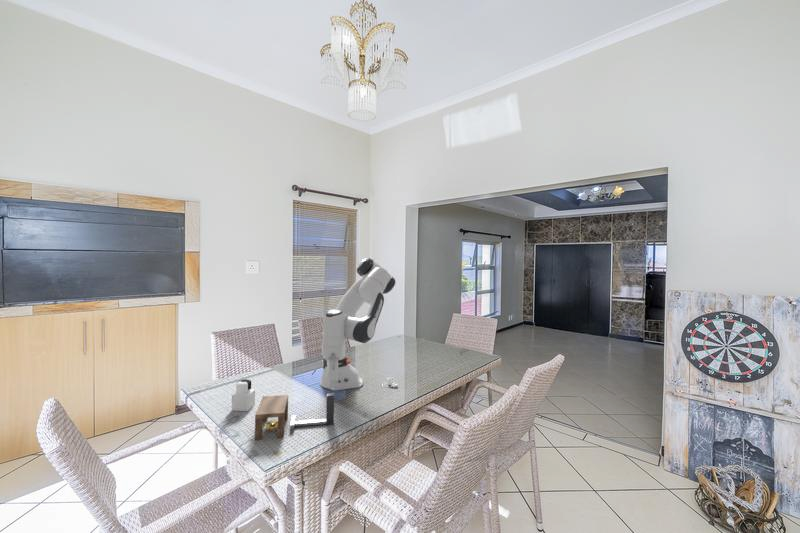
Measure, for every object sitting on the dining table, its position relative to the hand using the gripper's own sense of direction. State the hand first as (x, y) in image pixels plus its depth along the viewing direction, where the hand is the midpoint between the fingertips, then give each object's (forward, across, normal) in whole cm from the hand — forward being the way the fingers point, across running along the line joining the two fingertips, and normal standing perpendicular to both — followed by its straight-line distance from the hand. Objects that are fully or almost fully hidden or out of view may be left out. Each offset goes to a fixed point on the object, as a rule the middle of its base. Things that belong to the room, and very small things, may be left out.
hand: (331, 384), depth 137 cm
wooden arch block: (+16, 0, +22) cm, 28 cm away
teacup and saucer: (+17, +34, -31) cm, 49 cm away
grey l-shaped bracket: (+16, 0, +7) cm, 18 cm away
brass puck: (+17, 0, +22) cm, 28 cm away
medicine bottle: (+17, +21, +37) cm, 46 cm away
